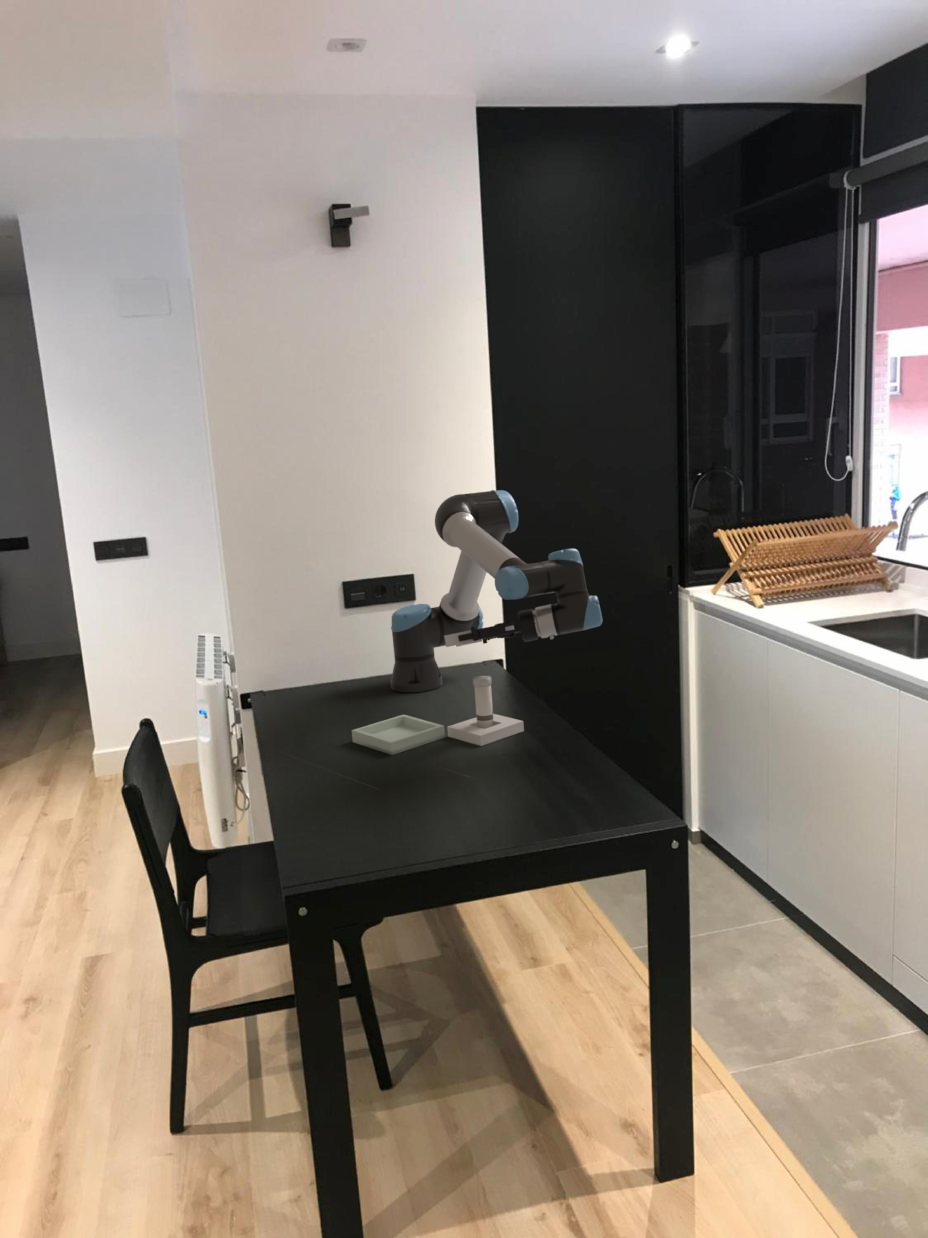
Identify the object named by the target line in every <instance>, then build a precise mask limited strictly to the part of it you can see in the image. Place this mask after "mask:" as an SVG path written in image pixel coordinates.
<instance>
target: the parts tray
mask: <svg viewBox="0 0 928 1238" xmlns="http://www.w3.org/2000/svg"><path fill="white" fill-rule="evenodd" d="M445 733H446V732H445V725H443V724H439V723H436V722H432V721H428V720H425V719H421V718H418V717H414V716H410V715H407V714H401V715H397V716H394V717H391V718H388V719H385V720H380V721H378V722H375V723H370V724H368V725H364V726H361V727H358V728H354V729H351V739H352V743H354V744H358V745H360V746H364V747H366V748H369V749H372V750H375V751H378V752H382V753H385V754H387V755H391V756H394V755H397V754H399V753H402V752H405V751H409V750H412V749H416V748H418V747H420V746H423V745H427V744H430V743H433V742H436V741H439V740H442V739H445V738H446V734H445Z"/></svg>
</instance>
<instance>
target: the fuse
mask: <svg viewBox="0 0 928 1238" xmlns="http://www.w3.org/2000/svg"><path fill="white" fill-rule="evenodd" d="M472 682H473V683H472V684H473V688H474V699H475V700H474V701H475V716H476V717H475V718H476V719H477V727H479V728H483V729H486V728H489V727H492V726H494V722H493V714H494V710H493V709H494V708H493V696H492V695H493V694H492V676H491V675H478V676H475V677H473V678H472Z"/></svg>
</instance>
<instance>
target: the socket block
mask: <svg viewBox="0 0 928 1238" xmlns="http://www.w3.org/2000/svg"><path fill="white" fill-rule="evenodd" d="M493 722H494V726H492V727H489V728H486V729H483V728H479V727H477V719H476V717H474V718H469V719H466V720H464V721H460V722H457V723H455V724H451V725H448V726H447V727H446V728H447V737H448V738H452V739H455V740H459V741H462V742H466V743H469V744H472V745H475V746H476V745H477V746H479V747H482V746H485V745H488V744H491V743H494V742H496V741H499V740H503V739H505V738H508V737H510V736H514V735H517V734H520V733H522V732H524V731H525V726H524V721H523V720H520V719H516V718H512V717H509V716H505V715H501V714H496V713H493Z"/></svg>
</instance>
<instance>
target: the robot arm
mask: <svg viewBox="0 0 928 1238" xmlns="http://www.w3.org/2000/svg"><path fill="white" fill-rule="evenodd" d="M436 510H437V511H436V512H435V516H434V526H435V530H436V533H437V535H438V537H439V538H440V539H441V540H442V541H443V542H445V543H446V545H448V546H450V547H452V548H457V549H459V550H460V554H459V557H458V561H457V564H456V567H455V571H454V573H453V578H452V581H451V584H450V587H449V591H448V593H446V594H444V595H443V596H442V597H441V599H440V602H439V606H435V607H431V606H430V605H429V603H428V604H427V603H418V604H412V605H407V606H404V607H401V608H399V609H397V610H395V611H394V612H393V613H392V615H391V627H390V628H391V629H390V630H391V634H392V635H391V636H392V643H393V644H392V645H393V646H392V647H393V653H394V657H393V658H394V664H393V668H392V675H391V678H390V688H391V690H393V691H394V692H398V693H423V692H429V691H432V690H435V689H438V688H440V687H442V686H443V683H444V681H443V676H442V674H441V671H440V668H439V666H438V664H437V660H436V659H435V658H436V657H435V648H439V647H446V648H449V647H454V646H455V647H457V648H458V647H462V646H466V645H467V646H468V645H471V644H476V643H481V642H482V644H487V643H488V641H491V640H494V639H505V638H507V639H509V638H514V637H516V634H517V635H519V634H521V638H522V641H523V642H525V643H526V642H527V643H528V642H532V641H536V640H539V637H540V638H541V639H547V638H548V637H549V639H550V640H553V639H554V638H555V636H559V635H560V636H561V635H566V634H570V633H577V632H581V631H586V630H590V629H593V628H597V627H600V626H601V625H602V624H603V616H602V610H601V606H600V601H599V597H598V596H597V595H590V593H589V590H588V589H587V583H586V575H585V571H584V563H583V561H582V557H581V554H580V551H579V550H578V549H576V548H565V549H561V550H557V551H553V552H551V553H549V554H548V560H545V561H539V562H535V563H526V562H525V561H523V560H522V559H521V558H520V557H518V556H517V555H516V554H514V552H512V551H511V550H510V549H508V548H507V547H506V546H505V545H504V544H503V541H504V538H505V535H506V534H511V533H513V532H516V530H517V528H518V526H519V511H518V507H517V504H516V502H515V499H514V497H513V496H512V494H510V493H509V492H508V491H506V490H503V489H501V490H494V489H492V490H489V491H479V492H471V493H470V492H469V493H459V494H455V495H452V496H450V497H448V498H446V499H445V500H444V501H442V502H441V504H440V505H439V506H438V508H437V509H436ZM487 574H489V575H490V577H492V578H493V579H494V586H495V590H496V591H497V594H498V596H499V597H500V598H501V599H503V600H506V601H507V600H520V599H523V598H529V597H534V596H540V595H548V594H554V593H555V597H556V600H557V603H552V604H551V603H550V604H546V605H541V606H537V607H536V606H535V608H534V609H533V608H529V609H523V610H519V611H518V612H517V620H518V621H517V622H513V621H512V620H506V621H503V622H500V623H496V624H494V625H492V626H487V627H483V626H484V621H483V619H484V614H483V611H482V608H481V607H480V606H479V605H480V604H479V603H478V599H479V597H480V593H481V591H482V587H483V585H484V582H485V578H486V576H487Z"/></svg>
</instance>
